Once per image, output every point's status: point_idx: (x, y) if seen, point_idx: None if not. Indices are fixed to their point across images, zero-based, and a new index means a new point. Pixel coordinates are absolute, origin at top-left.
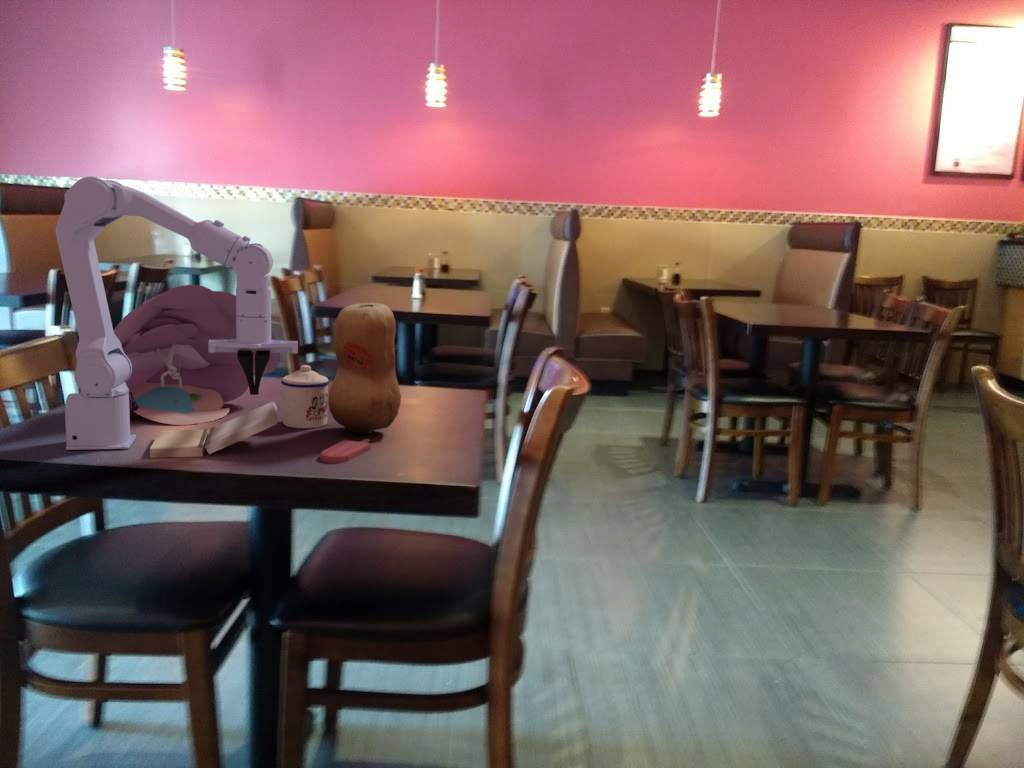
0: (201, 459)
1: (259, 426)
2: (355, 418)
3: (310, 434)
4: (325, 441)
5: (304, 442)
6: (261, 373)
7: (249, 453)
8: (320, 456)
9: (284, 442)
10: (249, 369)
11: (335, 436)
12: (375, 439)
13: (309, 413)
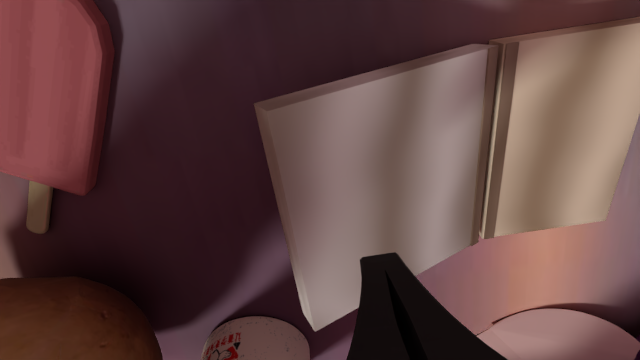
0: (492, 4)
1: (325, 89)
2: (40, 284)
3: (221, 275)
4: (161, 221)
5: (217, 207)
6: (360, 342)
7: None
8: (99, 19)
9: (271, 203)
10: (448, 352)
11: (150, 265)
12: (29, 250)
13: (230, 351)
